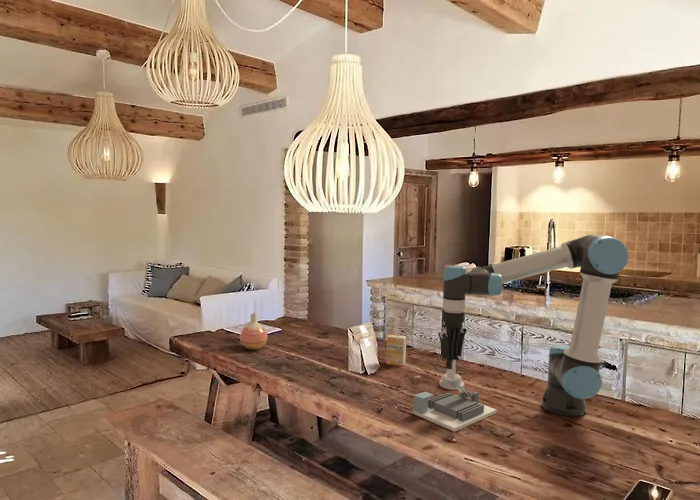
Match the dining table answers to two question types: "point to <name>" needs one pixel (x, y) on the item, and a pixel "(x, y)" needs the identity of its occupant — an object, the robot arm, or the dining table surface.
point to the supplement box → (396, 350)
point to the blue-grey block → (422, 402)
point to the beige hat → (448, 385)
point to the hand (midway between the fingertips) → (450, 377)
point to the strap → (457, 386)
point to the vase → (253, 334)
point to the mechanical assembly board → (455, 410)
